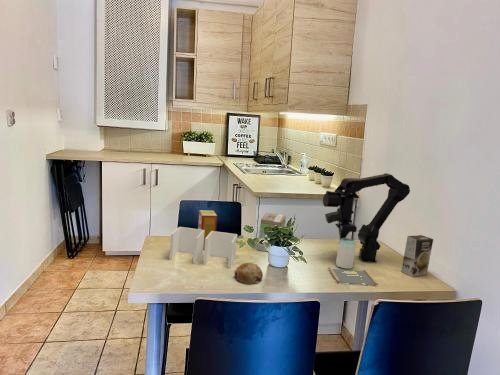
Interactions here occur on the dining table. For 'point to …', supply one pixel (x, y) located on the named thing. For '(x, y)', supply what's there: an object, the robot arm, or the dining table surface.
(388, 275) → the dining table surface
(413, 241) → the coffee box
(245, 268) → the bread roll
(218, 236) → the zigzag folding screen
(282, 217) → the tea box
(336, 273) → the mat
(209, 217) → the baking soda box
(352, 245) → the can
